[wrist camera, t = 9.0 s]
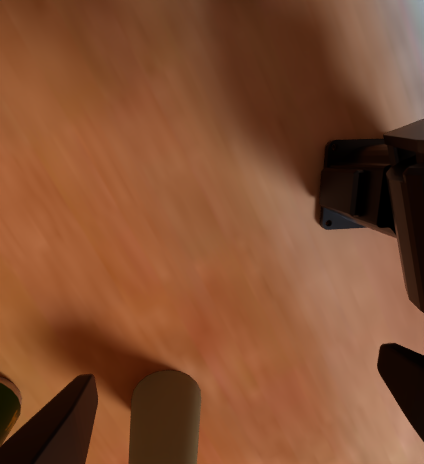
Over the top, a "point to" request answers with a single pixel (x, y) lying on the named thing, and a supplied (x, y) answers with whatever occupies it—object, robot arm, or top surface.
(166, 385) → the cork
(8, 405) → the beer can
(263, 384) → the top surface
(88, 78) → the top surface
